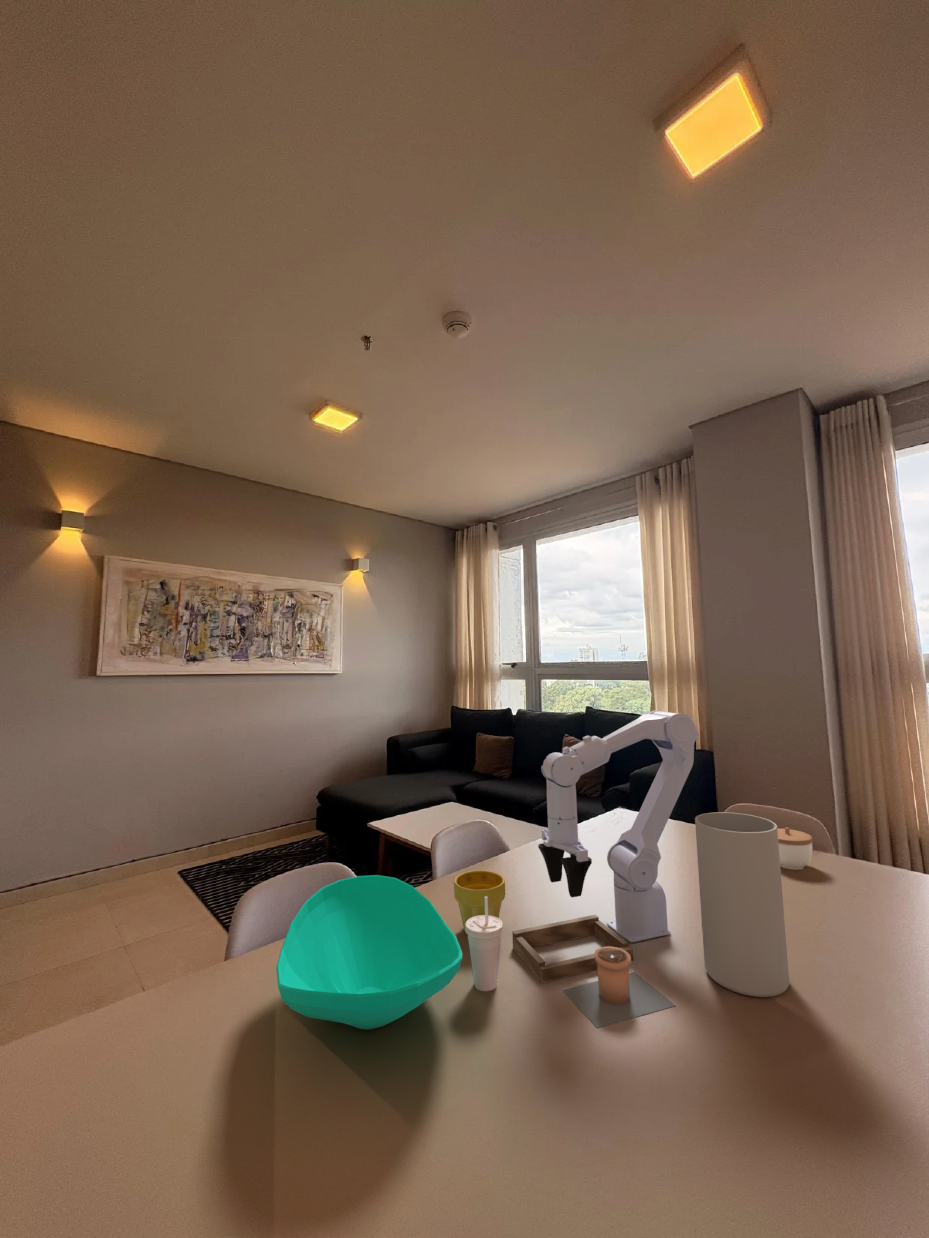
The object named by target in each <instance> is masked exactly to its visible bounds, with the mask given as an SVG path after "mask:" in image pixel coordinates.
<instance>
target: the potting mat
mask: <svg viewBox="0 0 929 1238" xmlns="http://www.w3.org/2000/svg"><path fill="white" fill-rule="evenodd" d="M629 984H630V1000H629V1002H627V1003H626V1004H622V1005H614V1004H609V1003H607V1002H605V1001H603V1000H602V999H601V998H600V996H599V988H598V980H595V981H592V982H587V983H583V984H579V985H575V986H572V987H567V988H563V989H562V991H563V993H565V995H566V996H567V997H568V998H569V999H570V1000H571V1001H572V1003H573V1004H574V1005H575V1006H576V1007H577V1008H578V1009H579V1010H580V1011H581V1013H583V1015H585V1017H586V1018H587V1019H588V1020H589V1021H590V1022H591V1024H593V1026H594V1027H595V1028H596V1029H599V1028H603V1027H607V1026H610V1025H615V1024H617V1023H620V1022H624V1021H628V1020H632V1019H635V1018H639V1017H643V1016H645V1015H649V1014H653V1013H657V1012H660V1011H665V1010H667V1009H671V1008H674V1007H677V1005H676V1004H675V1003H674V1002H672V1001H671V1000H670V999H669V998H668V997H667V996H665V995H664V993H661V991H660V990H658V989H657V988H656V987H654V986H653V985H652V984H651V983H649V981H647V980H646V979H644V978H643V977H642V976H641V975H640V974H638V973H637V972H636V971H633V972H629Z"/></svg>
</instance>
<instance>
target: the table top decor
mask: <svg viewBox="0 0 929 1238" xmlns="http://www.w3.org/2000/svg"><path fill="white" fill-rule="evenodd" d="M462 960H463V951H462V948H461V945H460V942H459V941H458V937H457V936H456V935H455V933H454V932H453V931H452V929H451V928H450V927H449V926H448V925H447V923H446V922H445V920H444V919H443V917H442V916H441V914H440V913H439V911H437V908H435V906H434V905H433V903H432V902H431V901H430V900H429V899H428V898H427V897H426V896H425V895H424V894H422V893H421V892H420V891H419V890H418V889H417V888H415V887H414V886H413V885H411V884H409V883H407V882H405V881H403V880H400V879H399V878H396V877H392V876H386V875H379V874H374V875H373V874H371V875H357V876H354V877H353V876H352V877H347V878H343V879H339V880H337V881H334V882H332V883H329V884H327V885H325V886H323V887H320V889H319V890H317V891H316V892H314V894H312V896H311V897H310V898H308V899H307V900H305V902H304V903H303V905H302V906H301V908H300V909H299V911H298V912H297V914H296V915H295V916H294V918H293V920H292V922H290V925H289V927H288V930H287V932H286V935H285V938H284V941H283V943H282V946H281V949H280V953H279V956H278V960H277V962H276V966H275V969H276V978H277V979H276V981H277V987H278V992H279V994H280V998H281V1000H282V1001H283V1002H284V1003H285V1004H286V1005H287V1006H288V1007H289V1008H290V1009H291V1010H292V1011H295V1012H297V1013H298V1014H300V1015H303V1016H304V1017H306V1018H310V1019H311V1018H312V1019H316V1020H321V1021H322V1020H323V1021H328V1022H333V1023H334V1022H335V1023H341V1024H345V1025H347V1026H351V1027H354V1028H357V1029H361V1030H373V1029H377V1028H381V1027H384V1026H386V1025H388V1024H391V1023H393V1022H394V1021H397V1020H398V1019H400V1018H401V1017H404V1016H405V1015H406V1014H408V1013H410V1012H411V1011H413V1010H414V1009H417V1008H418V1007H419V1006H420V1005H422V1004H424V1003H425V1002H427V1000H429V999H430V998H432V997H433V996H434V995H437V993H439V992H440V991H441V990H443V989H444V988H446V987H447V985H449V984H450V982H452V981H453V979H454V978H455V976H456V975H457V974H458V973H459V971H460V968H461V965H462Z"/></svg>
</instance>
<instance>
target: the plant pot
mask: <svg viewBox="0 0 929 1238" xmlns="http://www.w3.org/2000/svg"><path fill="white" fill-rule="evenodd" d="M453 894H454V899H455V901H456V902H457V903H458V904H457V905H458V908H459V913H460V917H461V921H462V922H461V923H462V927H463V931H464V932H465V924H466V921H467V920H468V919H470V918H472V917H475V916H480V915H485V896H487V897H488V915H489V916H494V917H497V918H499V919H500V913H501V907H502V902H503V901H504V900H505V898H506V879H505V877H504V876H503V875H502V874H501V873H498V872H495V871H492V870H488V869H487V870H486V869H480V870H479V869H477V870H476V869H474V870H469V871H464V872H462V873H459V874H458V875H456V877H455V878H454V881H453Z"/></svg>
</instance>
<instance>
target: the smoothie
mask: <svg viewBox="0 0 929 1238" xmlns="http://www.w3.org/2000/svg"><path fill="white" fill-rule="evenodd" d="M503 931H504V922H503V921H502V919H500V917H499V918H497V917H494V916H489V915H488V897H487V896H485V915H480V916H475V917H472V918H470V919H468V920H467V921H466V924H465V931H464V932H465V934H466V935H467V940H468V947H469V954H470V960H471V968H472V970H471V971H472V975H473V981H474V982H473V983H474V988H475V989H477V990H478V991H481V992H491V991H494V990H495V989H496V988H497V986H498V975H499V974H498V973H499V963H500V954H501V953H500V951H501V943H502V942H501V941H502V939H501V938H502V933H503Z"/></svg>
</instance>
